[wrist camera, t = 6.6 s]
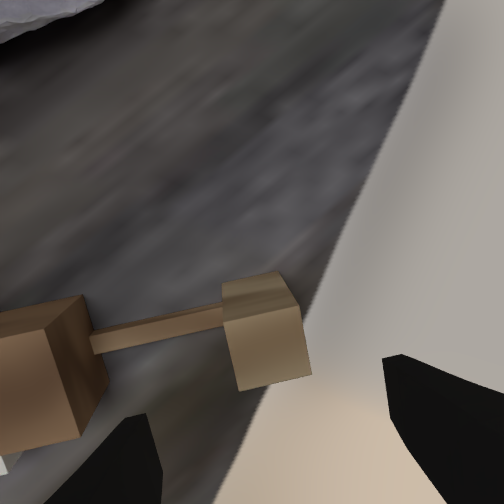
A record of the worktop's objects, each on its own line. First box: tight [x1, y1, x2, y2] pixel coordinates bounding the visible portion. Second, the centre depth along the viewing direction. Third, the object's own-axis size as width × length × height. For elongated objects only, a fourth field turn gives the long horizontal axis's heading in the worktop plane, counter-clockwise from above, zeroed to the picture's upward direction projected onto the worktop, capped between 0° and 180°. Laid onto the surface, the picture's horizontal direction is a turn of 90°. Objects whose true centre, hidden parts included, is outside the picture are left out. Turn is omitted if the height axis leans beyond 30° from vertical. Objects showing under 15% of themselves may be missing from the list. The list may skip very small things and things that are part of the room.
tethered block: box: [0, 271, 312, 456], centre depth 18 cm, size 5×15×6 cm, turn 101°
